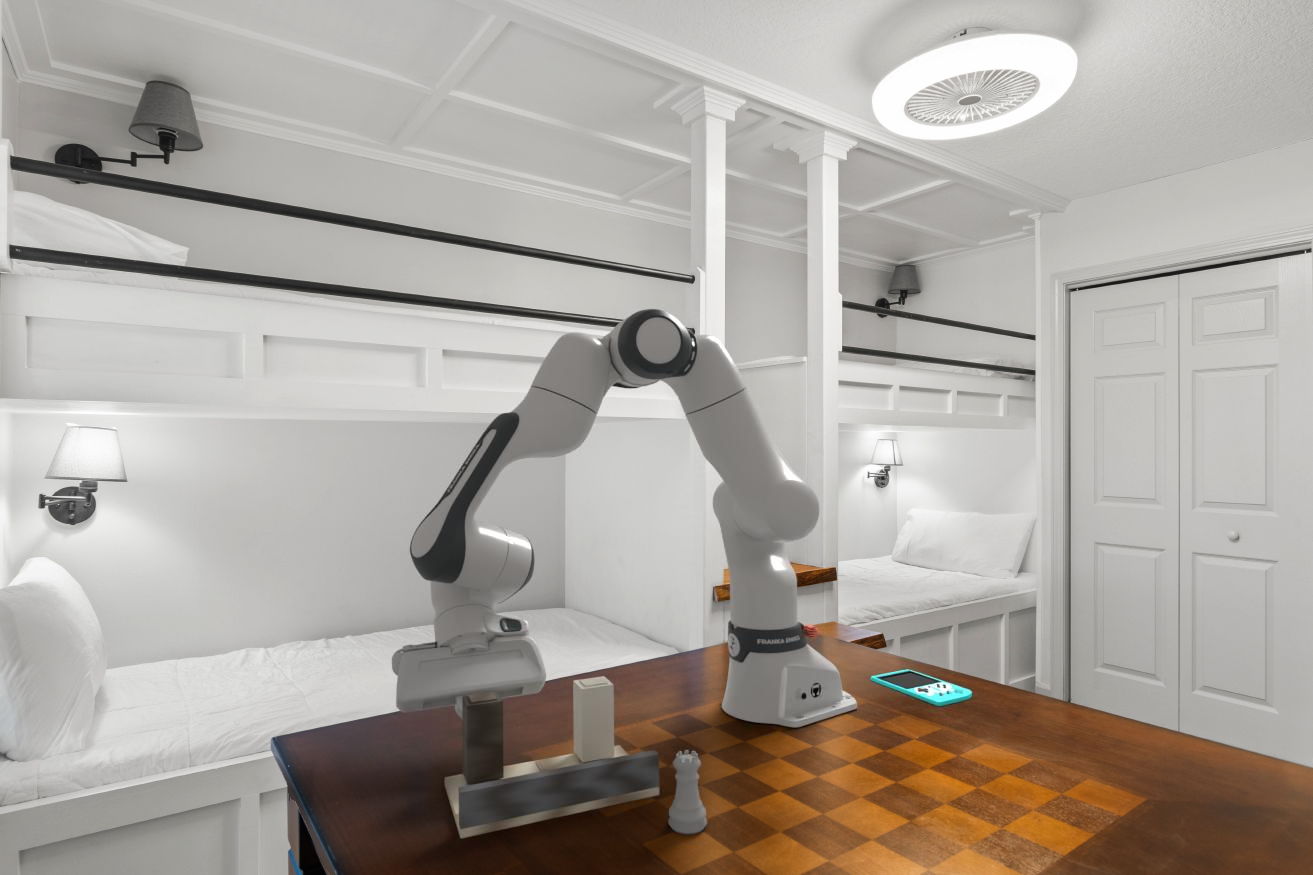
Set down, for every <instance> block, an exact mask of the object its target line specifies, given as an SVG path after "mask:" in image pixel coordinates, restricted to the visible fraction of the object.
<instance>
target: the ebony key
mask: <svg viewBox="0 0 1313 875" xmlns="http://www.w3.org/2000/svg"><path fill="white" fill-rule="evenodd" d="M461 721H462V726H461V727H462V774H464V777H465V779H466V782H467V785H468V784H473V783H478V782H484V781H489V780H494V779H499V778H504V766H505V765H504V700H503V698H501V697H500V695H499V694H498V692H497V691H496V692H489V693H482V694H475V695H468V696H462V719H461Z"/></svg>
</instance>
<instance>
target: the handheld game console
mask: <svg viewBox="0 0 1313 875" xmlns="http://www.w3.org/2000/svg"><path fill="white" fill-rule="evenodd" d="M870 680H871V681H872V682H874V683H876V684H879V685H882V686H885V687H887V688H889V689H892V690H894V691H898V692H900V693H903V694H905V695H908V696H910V697H912V698H913V697H914V698H916V699H918V700H921V701H924V702H926V703H929V704H932V705H935V706H937V707H943V706H947V705H950V704H955V703H960V702H963V701H967V700H970V699H971V698H972V697H973V692H972V691H971V690H970V689H968V688H965V687H963V686H959V685H956V684H953V683H951V682H948V681H944V680H942V679H938V678H935V677H932V676H931V675H927V674H924V673H921V672H918V671H914V670H911V669H902V670H898V671H896V670H895V671H893V672H892V671H891V672H886V673H882V674H877V675H876V674H875V675H872V676H871V677H870Z"/></svg>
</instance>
